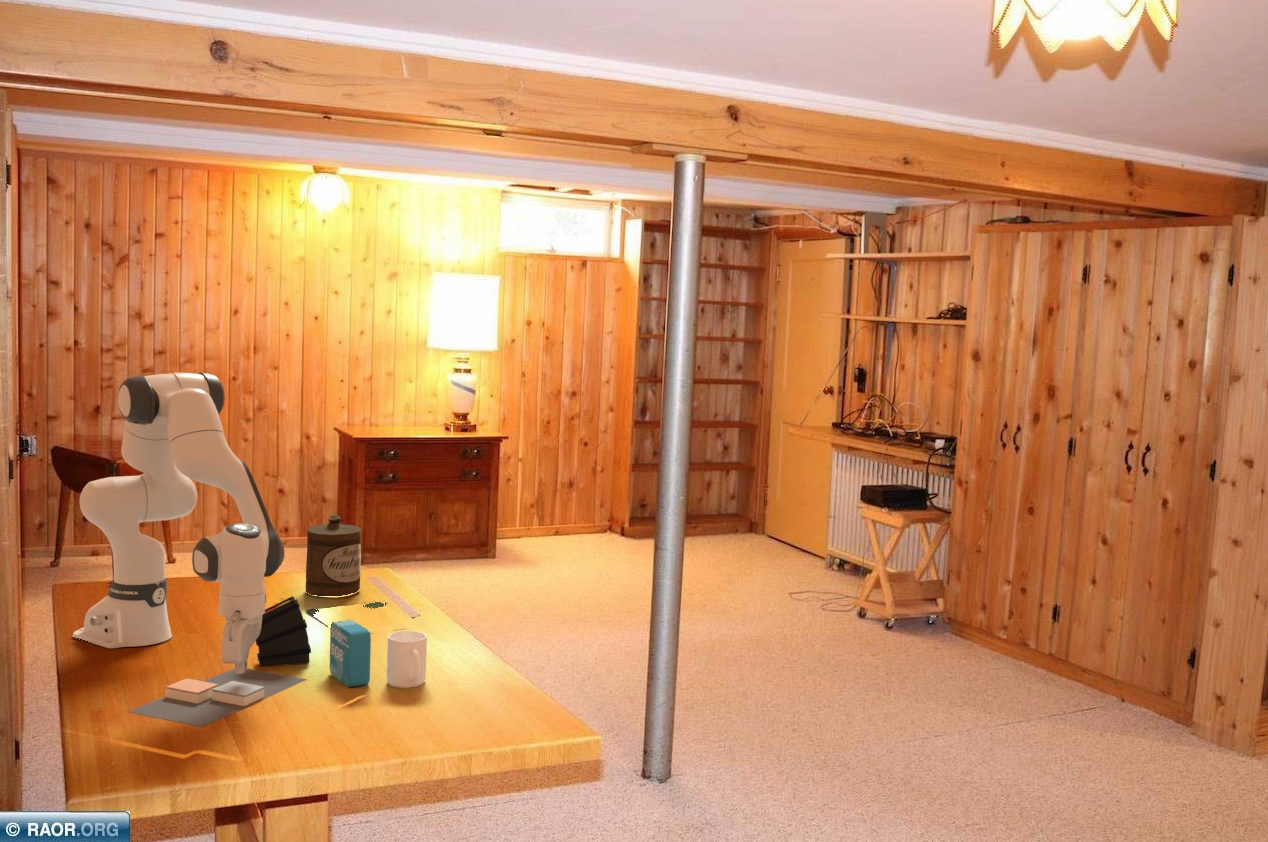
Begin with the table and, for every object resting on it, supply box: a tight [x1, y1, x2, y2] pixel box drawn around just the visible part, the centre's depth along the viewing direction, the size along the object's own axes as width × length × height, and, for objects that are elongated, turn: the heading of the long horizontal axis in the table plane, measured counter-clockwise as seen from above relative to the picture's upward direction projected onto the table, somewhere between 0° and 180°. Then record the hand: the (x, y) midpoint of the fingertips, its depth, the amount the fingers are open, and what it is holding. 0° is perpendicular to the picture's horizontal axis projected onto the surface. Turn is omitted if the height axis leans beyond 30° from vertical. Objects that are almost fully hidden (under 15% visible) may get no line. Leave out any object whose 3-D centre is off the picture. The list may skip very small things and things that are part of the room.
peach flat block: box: [165, 678, 218, 704], centre depth 232 cm, size 8×2×6 cm
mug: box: [386, 630, 428, 689], centre depth 246 cm, size 12×8×10 cm
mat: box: [127, 667, 307, 728], centre depth 234 cm, size 18×32×1 cm, turn 159°
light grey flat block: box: [212, 681, 264, 706], centre depth 232 cm, size 8×2×6 cm
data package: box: [329, 620, 372, 688], centre depth 248 cm, size 12×4×12 cm, turn 36°
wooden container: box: [305, 514, 362, 596], centre depth 322 cm, size 15×15×22 cm
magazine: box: [255, 595, 312, 667], centre depth 257 cm, size 4×13×15 cm, turn 111°
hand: (241, 671), depth 233 cm, fingers closed
